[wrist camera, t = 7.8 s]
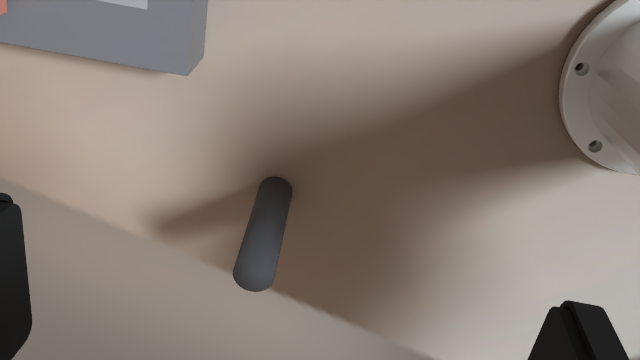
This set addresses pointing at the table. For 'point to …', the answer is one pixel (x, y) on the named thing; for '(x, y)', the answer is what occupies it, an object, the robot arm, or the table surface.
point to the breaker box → (112, 30)
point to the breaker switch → (3, 6)
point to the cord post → (263, 236)
